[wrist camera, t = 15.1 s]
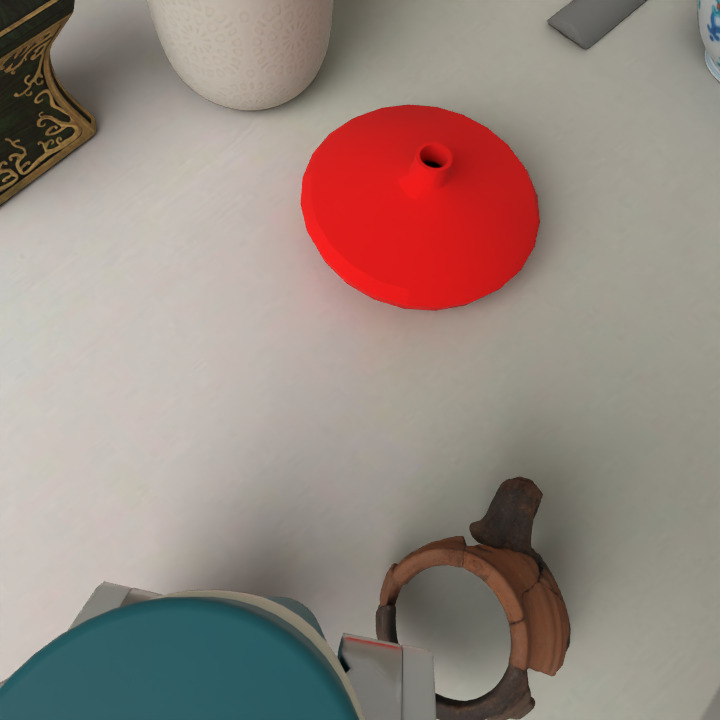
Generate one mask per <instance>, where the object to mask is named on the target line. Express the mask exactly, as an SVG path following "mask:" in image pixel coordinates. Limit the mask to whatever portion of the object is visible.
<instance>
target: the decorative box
mask: <svg viewBox="0 0 720 720" xmlns="http://www.w3.org/2000/svg"><path fill="white" fill-rule="evenodd" d="M74 1H75V0H0V205H1V204H2V203H4V202H5V201H6V200H8V199H9V198H10V197H12V196H13V195H14V194H16V193H17V192H18V191H20V190H21V189H22V188H24V187H25V186H26V185H28V184H29V183H30V182H32V181H33V180H34V179H36V178H37V177H38V176H40V175H41V174H42V173H44V172H45V171H46V170H48V169H49V168H50V167H52V166H53V165H54V164H56V163H57V162H58V161H60V160H61V159H62V158H64V157H65V156H66V155H68V154H69V153H70V152H72V151H73V150H74V149H76V148H77V147H78V146H80V145H81V144H82V143H84V142H85V141H86V140H88V139H89V138H90V137H92V136H93V135H94V134H95V128H96V121H95V119H94V117H93V116H92V115H91V114H90V113H89V112H87V111H86V110H85V109H84V108H83V107H82V106H81V105H80V104H79V103H78V102H77V101H76V100H75V99H74V98H73V97H72V96H71V95H70V94H69V93H68V92H67V91H66V90H65V89H64V87H63V86H62V85H61V83H60V82H59V80H58V78H57V77H56V75H55V73H54V70H53V67H52V64H51V60H50V48H51V46H52V43H53V42H54V40H55V39H56V37H57V36H58V34H59V33H60V31H61V30H62V28H63V27H64V25H65V24H66V22H67V21H68V19H69V18H70V16H71V15H72V13H73V10H74Z"/></svg>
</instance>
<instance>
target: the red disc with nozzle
mask: <svg viewBox="0 0 720 720" xmlns="http://www.w3.org/2000/svg"><path fill="white" fill-rule="evenodd" d="M301 207H302V211H303V216H304V220H305V224H306V228H307V231H308V233H309V235H310V237H311V238H312V240H313V242H314V243H315V245H316V247H317V249H318V250H319V252H320V254H321V255H322V257H323V259H324V260H325V262H326V263H327V264H328V265H329V266H330V267H331V268H332V269H333V270H334V271H335V272H336V273H337V274H338V275H339V276H340V277H341V278H342V279H343V280H344V281H345V282H346V283H347V284H349V285H350V286H352V287H354V288H356V289H357V290H359V291H361V292H362V293H364V294H366V295H368V296H369V297H371V298H373V299H375V300H378V301H381V302H384V303H388V304H391V305H394V306H398V307H401V308H404V309H420V310H441V309H446V308H452V307H457V306H463V305H466V304H468V303H471V302H473V301H475V300H477V299H479V298H481V297H483V296H485V295H488V294H490V293H492V292H494V291H496V290H498V289H500V288H501V287H502V286H503V285H504V284H506V283H507V282H508V281H509V280H510V279H511V278H512V277H513V276H515V275H516V274H517V273H518V272H519V271H520V270H521V269H522V267H523V265H524V264H525V262H526V260H527V259H528V257H529V255H530V254H531V252H532V250H533V248H534V247H535V242H536V237H537V233H538V228H539V223H540V218H539V208H538V198H537V194H536V191H535V189H534V186H533V184H532V182H531V179H530V177H529V174H528V172H527V170H526V169H525V167H524V166H523V165H522V163H521V162H520V161H519V159H518V158H517V157H516V155H515V154H514V153H513V151H512V150H511V149H510V147H509V146H508V145H507V144H506V143H505V142H504V141H503V140H501V139H500V138H499V137H498V136H497V135H495V134H494V133H493V132H492V131H491V130H489V129H488V128H487V127H485V126H483V125H481V124H479V123H477V122H476V121H474V120H472V119H470V118H468V117H466V116H464V115H462V114H458V113H455V112H452V111H448V110H445V109H441V108H438V107H430V106H419V105H402V106H394V107H385V108H380V109H378V110H375V111H372V112H369V113H366V114H364V115H361V116H358V117H356V118H353V119H351V120H350V121H348V122H347V123H345V124H344V125H342V126H341V127H339V128H338V129H336V130H335V131H333V132H332V133H330V134H329V135H328V136H327V138H326V139H325V140H324V141H323V142H322V144H321V145H320V146H319V147H318V148H317V149H316V151H315V152H314V153H313V154H312V157H311V159H310V162H309V164H308V166H307V169H306V171H305V173H304V176H303V181H302V193H301Z"/></svg>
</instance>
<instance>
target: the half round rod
mask: <svg viewBox="0 0 720 720" xmlns="http://www.w3.org/2000/svg"><path fill="white" fill-rule="evenodd" d="M644 1H646V0H573V1H572V2H570V3H569V4H568V5H566V6H565V7H564V8H563V9H561V10H560V11H559V12H557V13H556V14H555V15H554V16H552V17H551V18H550V19H548V20H547V22H548V23H549V24H550V25H552V26H553V27H554V28H556V29H557V30H559V31H560V32H561V33H563V34H564V35H566V36H567V37H569V38H570V39H571V40H573V41H574V42H576V43H577V44H578V45H580V46H581V47H583V48H586V49H587V48H589V47H591V46H592V45H593V44H594V43H595V42H597V41H598V40H599V39H600V38H601V37H603V36H604V35H605V34H606V33H607V32H609V31H610V30H611V29H612V28H613V27H615V26H616V25H617V24H618V23H619V22H621V21H622V20H623V19H624V18H625V17H627V16H628V15H629V14H630V13H631V12H633V11H634V10H635V9H636V8H637V7H639V6H640V5H641V4H642V3H643V2H644Z"/></svg>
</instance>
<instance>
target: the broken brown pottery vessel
mask: <svg viewBox="0 0 720 720" xmlns="http://www.w3.org/2000/svg"><path fill="white" fill-rule="evenodd" d="M542 497H543V493H542V492H541V491H540V489H539V488H538V487H537V485H536V484H534V482H533V481H532V480H530V479H527V478H524V477H516V478H513V479H508V480H506V481H504V482H503V483H502V484H501V485H500V487H499V488H498V490H497V492H496V495H495V497H494V498H493V500H492V502H491V504H490V506H489V509H488V511H487V513H486V515H485V516H484V518H483V519H482V520H480V521H477V522H474V523H471V524H470V527H469V528H470V532H471V535H472V537H473V538H474V539H475V540H476V541H477V542H479V543H481V544H483V545H476V546H467V545H466V543H465V539H464V537H463V536H455V537H450V538H446V539H443V540H439V541H435V542H431V543H429V544H427V545H425V546H423V547H421V548H419V549H418V550H415V551H414V552H411V553H410V554H409V555H407V556H406V557H405V558H404V559H403V560H402V561H401V562H400V563H399V564H396V563H394V564H393V565H392V566H391V568H390V569H389V571H388V572H387V575H386V577H385V580H384V583H383V586H382V589H381V594H380V605H379V606H378V610H377V612H376V634H377V638H378V640H382V641H387V642H392V643H397V644H398V640H397V633H396V619H395V618H396V607H395V603H396V600H397V597H398V594H399V592H400V590H401V588H402V586H403V585H405V584H407V583H408V582H409V581H410V580H411V579H412V578H413V577H414V576H415V575H417V574H418V573H419V572H421V571H423V570H425V569H427V568H430V567H433V566H439V565H450V566H455V567H462V568H465V569H466V570H468V571H470V572H472V573H474V574H475V575H477V576H478V577H480V578H481V579H482V580H483V581H484V582H485V583H486V584H487V585H488V586H489V587H490V588H491V589H492V590H493V592H494V593H495V594H496V596H497V597H498V599H499V600H500V602H501V604H502V606H503V608H504V610H505V613H506V615H507V619H508V622H509V627H510V633H511V653H510V658H509V666H508V668H507V670H506V672H505V674H504V676H503V678H502V679H501V681H500V682H499V683H498V685H497V686H496V687H495V688H494V689H492V690H491V691H490V692H488V693H487V694H485V695H483V696H481V697H479V698H477V699H474V700H468V701H459V700H453V699H449V698H445V697H443V696H441V695H438V694H436V693H435V702H436V719H439V720H485V719H487V720H507V719H510V718H511V719H521V718H522V717H524V716H525V715H526V714H528V713H529V712H530V711H531V710H532V709H533V708H534V706H535V700H534V699H533V698H532V697H531V692H530V688H529V685H528V677H527V669H528V668H531V669H533V670H535V671H538V672H542V673H545V674H548V675H550V676H555V674H556V672H557V671H558V670H559V669H560V668H561V666H562V665H563V662H564V658H565V654H566V651H567V649H568V648H569V644H570V623H569V617H568V613H567V609H566V606H565V602H564V600H563V597H562V595H561V592H560V590H559V588H558V585H557V583H556V581H555V579H554V577H553V575H552V573H551V572H550V570H549V568H548V567H547V565H546V564H545V562H544V561H543V559H542V557H541V556H540V555H539V554H538V553H536V552H535V551H534V549H533V548H532V547H531V534H532V525H533V519H534V517H535V515H536V513H537V510H538V507H539V504H540V502H541V499H542Z"/></svg>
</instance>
